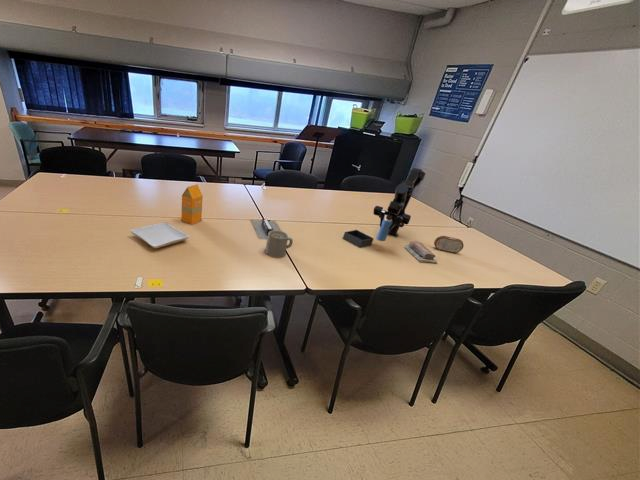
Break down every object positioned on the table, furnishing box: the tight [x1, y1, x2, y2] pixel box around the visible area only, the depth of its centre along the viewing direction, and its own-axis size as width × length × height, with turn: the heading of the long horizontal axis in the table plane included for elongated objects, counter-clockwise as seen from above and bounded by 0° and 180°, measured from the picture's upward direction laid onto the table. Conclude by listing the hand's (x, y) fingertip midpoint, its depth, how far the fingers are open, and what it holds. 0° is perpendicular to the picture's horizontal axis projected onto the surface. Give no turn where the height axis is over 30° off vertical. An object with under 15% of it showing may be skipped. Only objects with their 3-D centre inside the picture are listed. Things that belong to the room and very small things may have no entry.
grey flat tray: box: [251, 219, 281, 239], centre depth 182 cm, size 14×25×4 cm, turn 9°
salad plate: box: [129, 222, 190, 249], centre depth 156 cm, size 21×21×3 cm
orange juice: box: [181, 184, 204, 225], centre depth 177 cm, size 8×9×20 cm
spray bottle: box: [375, 214, 393, 242], centre depth 170 cm, size 5×5×14 cm
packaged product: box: [404, 240, 438, 264], centre depth 176 cm, size 18×5×10 cm
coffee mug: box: [264, 230, 294, 258], centre depth 157 cm, size 13×10×10 cm
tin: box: [433, 235, 465, 254], centre depth 185 cm, size 15×3×8 cm, turn 71°
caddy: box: [342, 229, 374, 248], centre depth 183 cm, size 11×13×4 cm
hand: (384, 228), depth 169 cm, fingers closed on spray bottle, 5 cm apart
